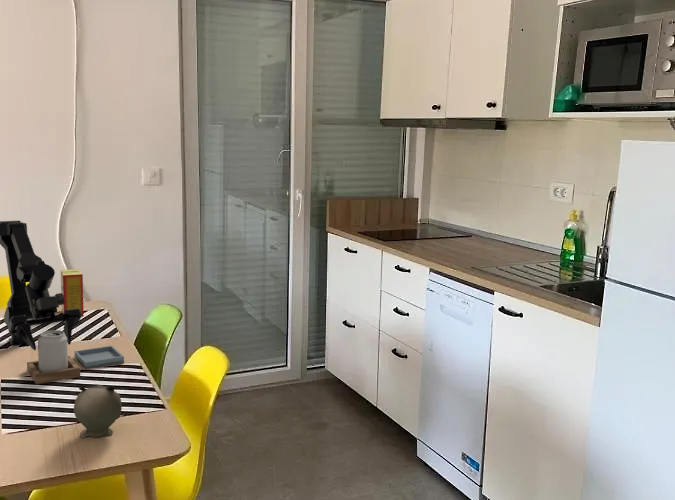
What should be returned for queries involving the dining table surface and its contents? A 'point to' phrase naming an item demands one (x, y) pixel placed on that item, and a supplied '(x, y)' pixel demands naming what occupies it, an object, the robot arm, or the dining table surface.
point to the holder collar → (53, 372)
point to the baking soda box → (72, 289)
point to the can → (52, 351)
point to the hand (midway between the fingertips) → (52, 346)
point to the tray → (99, 357)
